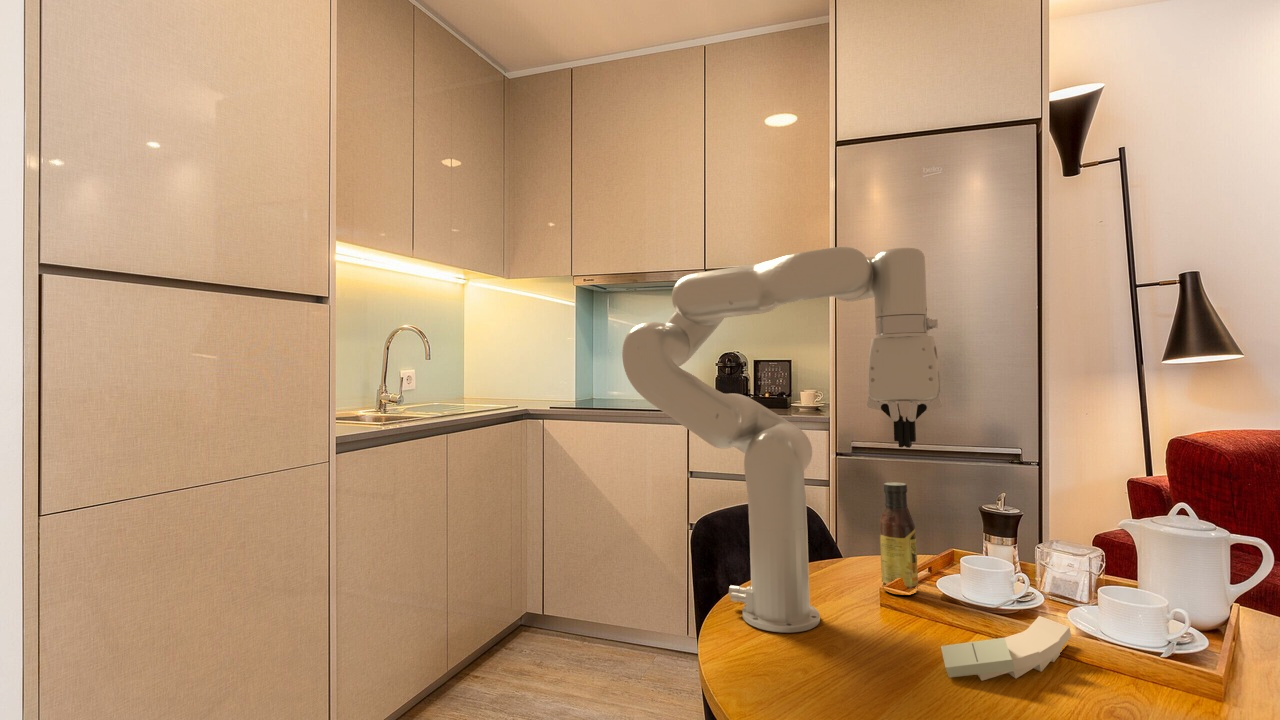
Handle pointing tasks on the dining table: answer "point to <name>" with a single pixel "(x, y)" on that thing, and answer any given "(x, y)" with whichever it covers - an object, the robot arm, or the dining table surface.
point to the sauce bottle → (898, 538)
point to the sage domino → (977, 657)
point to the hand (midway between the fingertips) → (905, 446)
